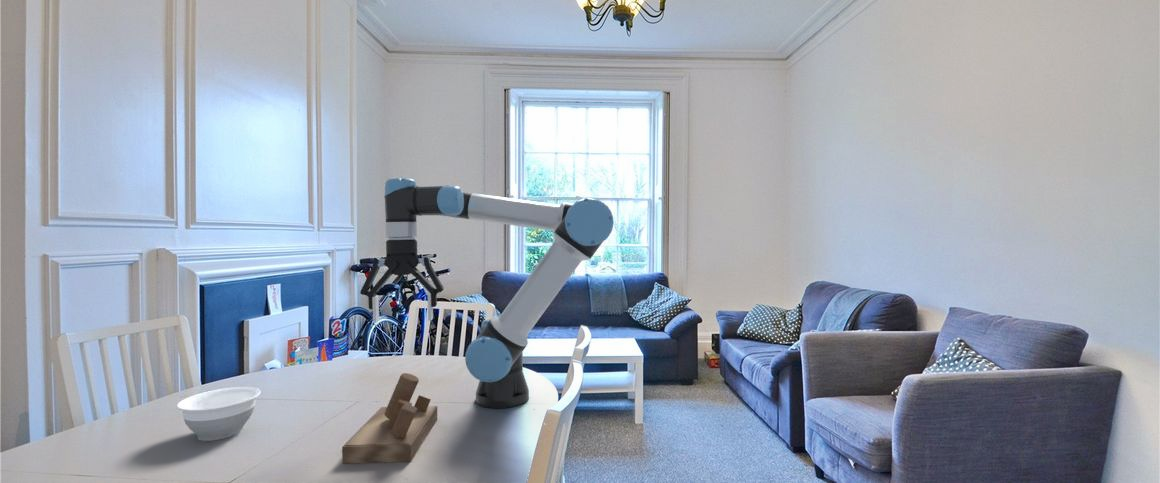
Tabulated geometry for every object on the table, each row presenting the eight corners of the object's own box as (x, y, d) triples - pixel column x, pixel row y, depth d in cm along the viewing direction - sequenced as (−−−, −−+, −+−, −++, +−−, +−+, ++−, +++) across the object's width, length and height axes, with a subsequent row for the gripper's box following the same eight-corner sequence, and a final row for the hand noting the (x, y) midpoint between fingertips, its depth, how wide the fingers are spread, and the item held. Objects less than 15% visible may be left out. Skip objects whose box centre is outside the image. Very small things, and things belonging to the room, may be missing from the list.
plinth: (437, 419, 120) (437, 405, 119) (410, 461, 98) (410, 444, 98) (381, 420, 119) (381, 406, 119) (342, 463, 97) (342, 446, 97)
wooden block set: (408, 449, 100) (427, 405, 100) (369, 435, 99) (388, 391, 99) (424, 413, 118) (441, 376, 118) (391, 401, 117) (408, 364, 117)
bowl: (276, 424, 117) (276, 390, 117) (207, 452, 102) (207, 413, 102) (232, 416, 122) (231, 383, 122) (160, 442, 107) (159, 405, 107)
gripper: (453, 237, 126) (454, 316, 126) (355, 239, 123) (357, 319, 123) (449, 238, 118) (450, 321, 119) (345, 240, 115) (347, 325, 116)
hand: (403, 320), depth 121 cm, fingers open, 13 cm apart
